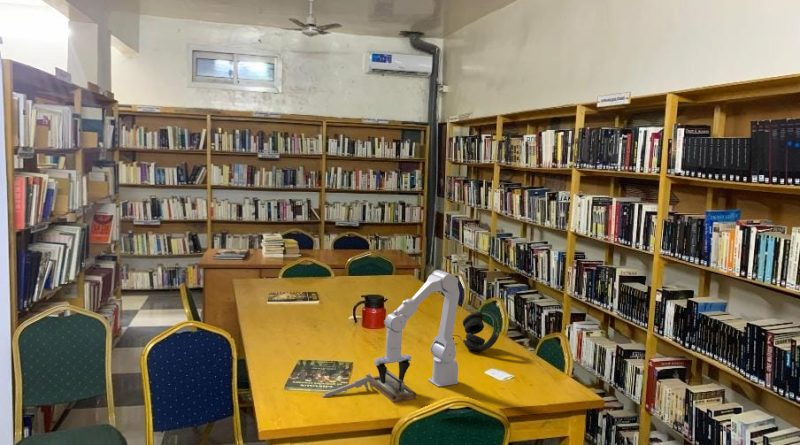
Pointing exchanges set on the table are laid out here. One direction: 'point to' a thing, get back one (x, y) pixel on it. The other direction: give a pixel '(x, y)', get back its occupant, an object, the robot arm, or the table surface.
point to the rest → (391, 395)
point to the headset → (474, 326)
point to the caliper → (352, 385)
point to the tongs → (393, 383)
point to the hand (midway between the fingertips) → (392, 381)
